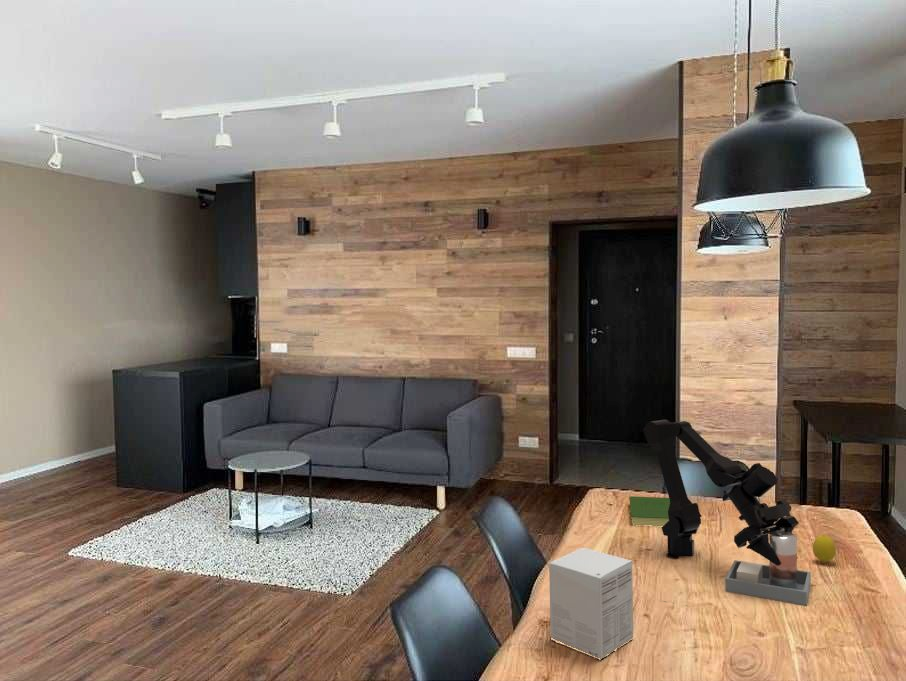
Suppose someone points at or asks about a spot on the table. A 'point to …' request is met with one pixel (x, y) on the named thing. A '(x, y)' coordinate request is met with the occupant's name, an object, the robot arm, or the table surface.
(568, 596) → the supplement box
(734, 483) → the robot arm
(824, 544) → the lemon
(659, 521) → the hardcover book
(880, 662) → the table surface
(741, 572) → the white rectangular block
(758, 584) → the tote
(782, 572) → the steel tin
